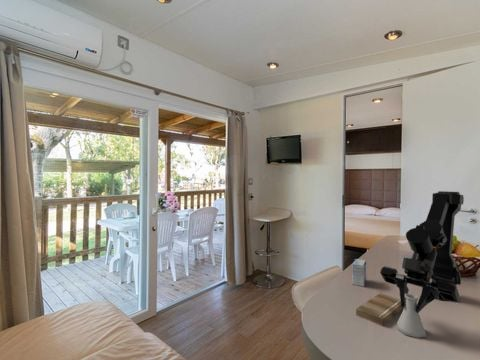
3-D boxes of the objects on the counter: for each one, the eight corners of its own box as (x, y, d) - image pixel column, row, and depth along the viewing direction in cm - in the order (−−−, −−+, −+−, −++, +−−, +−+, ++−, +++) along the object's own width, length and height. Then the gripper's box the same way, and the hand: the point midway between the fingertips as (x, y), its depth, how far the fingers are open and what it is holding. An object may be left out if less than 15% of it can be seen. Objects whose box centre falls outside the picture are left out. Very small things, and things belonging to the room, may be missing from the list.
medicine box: (364, 287, 103) (364, 265, 103) (352, 284, 105) (352, 263, 105) (366, 280, 110) (366, 260, 109) (354, 278, 112) (355, 258, 112)
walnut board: (380, 298, 93) (380, 292, 93) (405, 306, 87) (405, 300, 87) (356, 314, 82) (356, 308, 82) (382, 326, 76) (382, 319, 76)
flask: (431, 340, 69) (432, 303, 69) (402, 336, 71) (402, 300, 71) (419, 325, 76) (419, 291, 76) (392, 322, 78) (392, 289, 78)
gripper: (382, 241, 83) (366, 283, 76) (456, 254, 68) (445, 309, 62) (392, 260, 88) (378, 302, 81) (463, 276, 73) (453, 329, 67)
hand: (409, 309), depth 72 cm, fingers open, 3 cm apart
